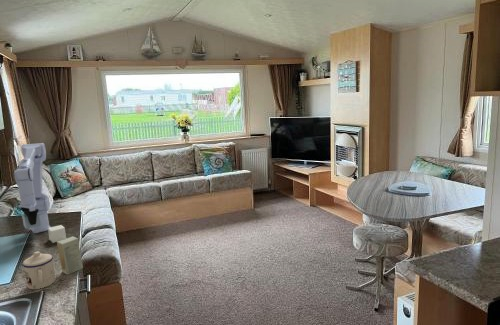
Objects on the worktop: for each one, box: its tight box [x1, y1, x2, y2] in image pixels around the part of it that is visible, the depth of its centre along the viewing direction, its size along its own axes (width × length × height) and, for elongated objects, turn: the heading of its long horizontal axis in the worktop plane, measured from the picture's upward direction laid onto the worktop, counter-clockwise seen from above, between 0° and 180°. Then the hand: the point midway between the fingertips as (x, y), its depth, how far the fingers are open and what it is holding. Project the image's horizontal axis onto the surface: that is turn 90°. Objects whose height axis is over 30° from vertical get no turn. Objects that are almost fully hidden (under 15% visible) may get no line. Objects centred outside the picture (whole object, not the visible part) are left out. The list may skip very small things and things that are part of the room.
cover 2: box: [47, 224, 67, 244], centre depth 168 cm, size 6×6×6 cm
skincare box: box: [56, 235, 84, 275], centre depth 136 cm, size 6×4×12 cm
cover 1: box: [21, 213, 41, 230], centre depth 168 cm, size 6×6×6 cm
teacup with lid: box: [22, 250, 56, 290], centre depth 126 cm, size 12×9×12 cm
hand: (31, 222), depth 168 cm, fingers closed on cover 1, 6 cm apart
